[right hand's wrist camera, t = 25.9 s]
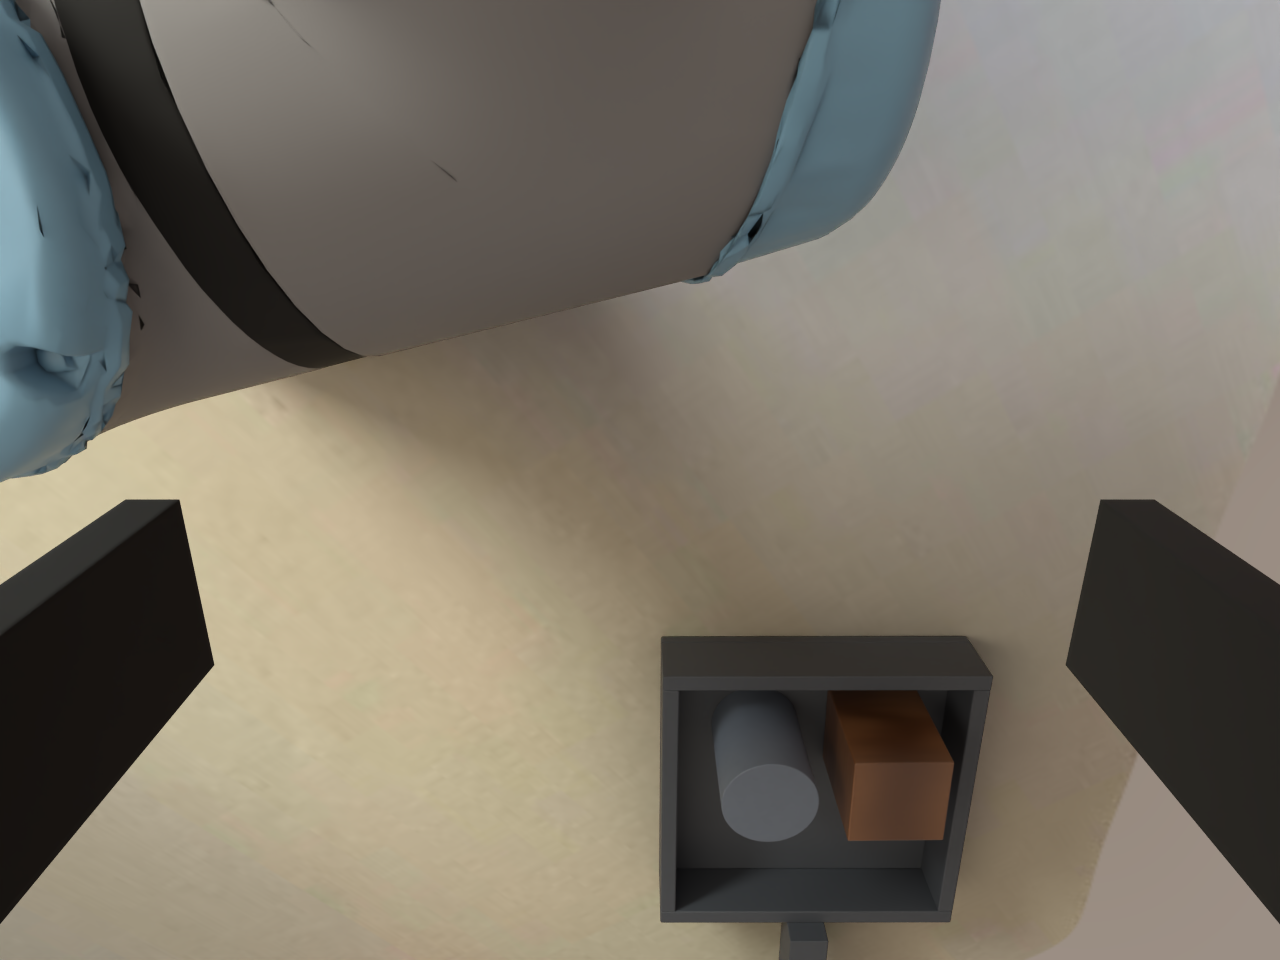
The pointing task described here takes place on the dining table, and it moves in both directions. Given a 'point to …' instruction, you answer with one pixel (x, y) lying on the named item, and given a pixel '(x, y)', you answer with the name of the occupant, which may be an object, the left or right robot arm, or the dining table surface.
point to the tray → (820, 854)
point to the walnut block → (886, 765)
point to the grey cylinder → (763, 766)
